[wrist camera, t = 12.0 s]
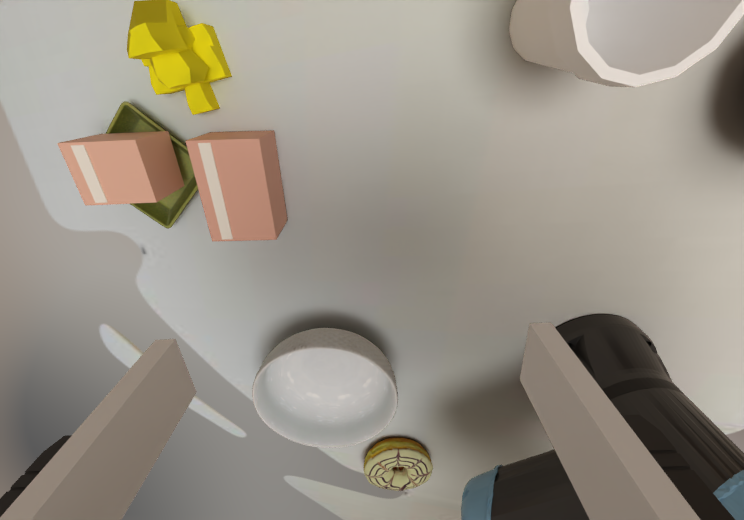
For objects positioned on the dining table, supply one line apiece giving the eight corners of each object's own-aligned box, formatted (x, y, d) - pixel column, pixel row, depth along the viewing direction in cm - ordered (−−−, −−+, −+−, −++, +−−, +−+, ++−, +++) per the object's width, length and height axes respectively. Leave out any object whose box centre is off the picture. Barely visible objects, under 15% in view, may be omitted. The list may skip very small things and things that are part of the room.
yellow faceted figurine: (182, 118, 32) (131, 129, 25) (135, 16, 28) (61, -4, 21) (241, 102, 31) (206, 108, 24) (201, -4, 28) (146, -32, 21)
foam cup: (474, 68, 30) (539, 62, 19) (516, -69, 26) (634, -188, 14) (573, 93, 31) (694, 102, 20) (629, -35, 27) (825, -121, 15)
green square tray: (137, 97, 31) (123, 98, 29) (221, 162, 34) (212, 167, 32) (98, 168, 34) (83, 173, 32) (178, 222, 37) (168, 230, 35)
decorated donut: (397, 480, 59) (399, 504, 56) (351, 454, 56) (349, 478, 52) (442, 452, 56) (447, 476, 52) (396, 423, 52) (397, 447, 49)
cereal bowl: (398, 310, 42) (404, 350, 36) (390, 403, 50) (393, 449, 44) (260, 306, 42) (241, 347, 36) (273, 401, 50) (259, 447, 43)
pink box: (184, 185, 33) (156, 202, 29) (122, 188, 33) (84, 205, 29) (168, 130, 31) (134, 140, 26) (101, 133, 31) (56, 143, 26)
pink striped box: (288, 225, 37) (277, 245, 32) (232, 227, 37) (213, 247, 32) (274, 130, 32) (258, 138, 28) (210, 132, 32) (184, 140, 28)
